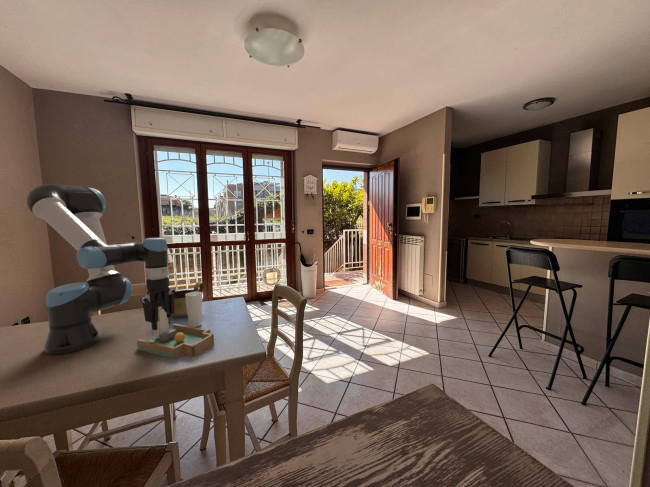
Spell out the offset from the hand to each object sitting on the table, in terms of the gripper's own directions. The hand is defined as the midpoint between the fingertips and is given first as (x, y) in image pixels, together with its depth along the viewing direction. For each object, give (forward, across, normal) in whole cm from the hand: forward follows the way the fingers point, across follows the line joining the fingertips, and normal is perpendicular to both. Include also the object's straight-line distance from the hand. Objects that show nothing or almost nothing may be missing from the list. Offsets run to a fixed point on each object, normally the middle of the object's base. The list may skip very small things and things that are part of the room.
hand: (161, 334), depth 103 cm
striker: (+1, 0, -1) cm, 2 cm away
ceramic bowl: (+3, +24, +15) cm, 29 cm away
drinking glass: (+3, +16, -1) cm, 16 cm away
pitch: (+3, 0, -10) cm, 10 cm away
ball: (0, 0, -10) cm, 10 cm away
